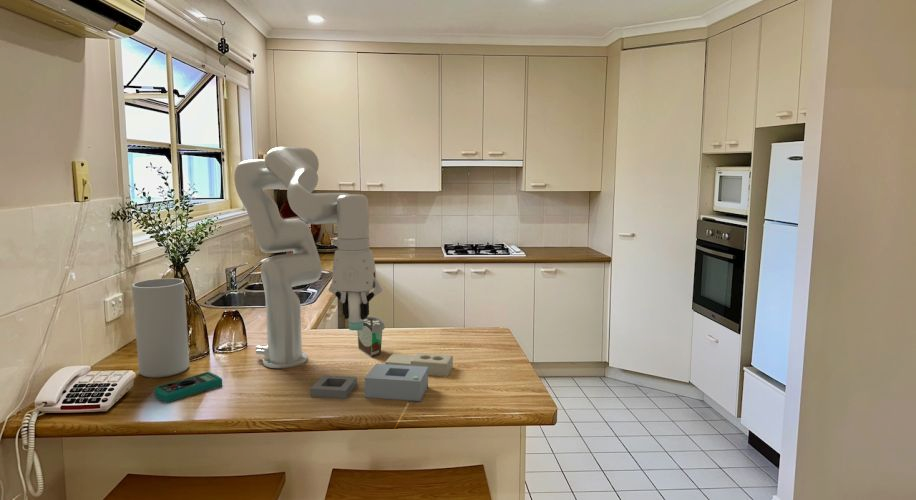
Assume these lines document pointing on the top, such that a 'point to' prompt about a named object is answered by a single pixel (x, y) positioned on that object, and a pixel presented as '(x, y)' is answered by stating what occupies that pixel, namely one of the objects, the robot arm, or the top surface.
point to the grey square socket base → (333, 387)
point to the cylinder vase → (161, 327)
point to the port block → (397, 382)
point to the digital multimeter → (187, 387)
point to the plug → (355, 311)
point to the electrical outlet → (425, 362)
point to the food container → (371, 336)
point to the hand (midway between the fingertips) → (356, 317)
